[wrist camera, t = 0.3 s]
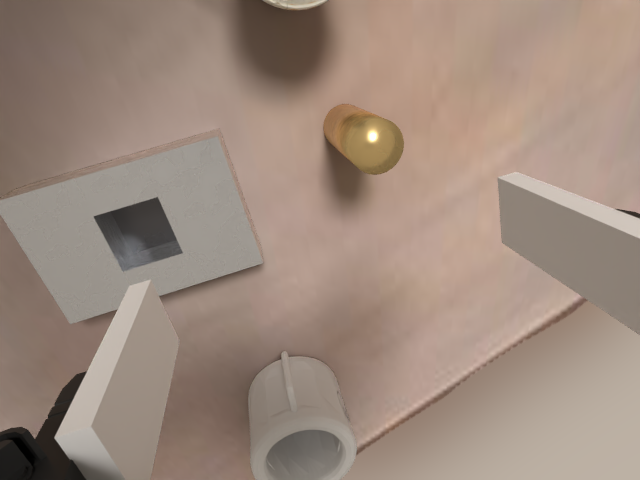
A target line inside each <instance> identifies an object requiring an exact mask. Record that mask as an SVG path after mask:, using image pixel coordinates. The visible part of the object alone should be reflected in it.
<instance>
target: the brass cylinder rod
mask: <svg viewBox="0 0 640 480" xmlns="http://www.w3.org/2000/svg"><path fill="white" fill-rule="evenodd" d="M324 134H325V136H326V138H327V140H328V141H329V142H330V143H331V144H332V145H333V146H334V147H335V148H336V149H338V150H339V151H340V152H341V153H342V154H343V155H344V156H345V157H346V158H347V159H349V160H350V161H351V162H352V163H353V164H354V165H355V166H356V167H357V168H359V169H360V170H361V171H363V172H365V173H368V174H374V175H376V174H382V173H385V172H387V171H389V170H390V169H392V168H393V167H394V166H395V165H396V164H397V162H398V161H399V159H400V158H401V155H402V152H403V147H404V141H403V136H402V133H401V131H400V129H399V128H398V127H397V126H396V125H395V124H394V123H393V122H391V121H389V120H387V119H384V118H382V117H379V116H377V115H375V114H372V113H370V112H367V111H365V110H363V109H360V108H358V107H355V106H353V105H349V104H341V105H338V106H336V107H334V108H333V109H332V110H330V112H329V113H328V114H327V116H326V118H325V121H324Z"/></svg>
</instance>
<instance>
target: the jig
mask: <svg viewBox="0 0 640 480" xmlns="http://www.w3.org/2000/svg"><path fill="white" fill-rule="evenodd" d="M0 215H1V216H2V218H3V219H4V221H5V223H6V224H7V226H8V227H9V229H10V230H11V232H12V233H13V235H14V237H15V238H16V240H17V241H18V243H19V244H20V246H21V248H22V249H23V251H24V252H25V254H26V255H27V257H28V259H29V260H30V262H31V263H32V265H33V266H34V268H35V270H36V271H37V273H38V274H39V276H40V277H41V279H42V281H43V282H44V284H45V285H46V287H47V288H48V290H49V292H50V293H51V295H52V296H53V298H54V299H55V301H56V303H57V304H58V306H59V307H60V309H61V310H62V312H63V314H64V315H65V317H66V318H67V320H68V321H69V323H70V324H72V323H76V322H79V321H82V320H85V319H88V318H91V317H95V316H98V315H101V314H104V313H107V312H110V311H114V310H117V309H118V308H119V306H120V304H121V302H122V300H123V298H124V296H125V294H126V292H127V290H128V288H129V286H131V285H134V284H137V283H141V282H144V281H148V280H151V281H152V283H153V285H154V287H155V289H156V291H157V293H158V296H161V295H164V294H167V293H170V292H174V291H177V290H180V289H183V288H186V287H189V286H193V285H196V284H199V283H202V282H205V281H208V280H212V279H215V278H218V277H221V276H224V275H227V274H230V273H234V272H237V271H240V270H243V269H246V268H249V267H253V266H256V265H259V264H262V263H263V257H262V250H261V244H260V242H259V239H258V236H257V233H256V230H255V228H254V225H253V222H252V219H251V216H250V213H249V211H248V208H247V205H246V202H245V199H244V197H243V194H242V191H241V188H240V185H239V182H238V180H237V177H236V174H235V171H234V168H233V166H232V163H231V160H230V157H229V154H228V152H227V149H226V146H225V143H224V140H223V137H222V135H221V132H220V129H216V130H212V131H209V132H206V133H202V134H199V135H195V136H192V137H189V138H185V139H182V140H178V141H175V142H172V143H168V144H165V145H161V146H158V147H155V148H151V149H148V150H144V151H141V152H138V153H134V154H131V155H127V156H124V157H121V158H117V159H114V160H110V161H107V162H104V163H100V164H97V165H93V166H90V167H87V168H83V169H80V170H76V171H73V172H70V173H66V174H63V175H59V176H56V177H53V178H49V179H46V180H42V181H39V182H36V183H32V184H29V185H25V186H22V187H19V188H16V189H14V190H13V191H11V192H9V193H8V194H6V195H4V196H3V197H1V198H0Z"/></svg>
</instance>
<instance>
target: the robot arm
mask: <svg viewBox="0 0 640 480" xmlns="http://www.w3.org/2000/svg"><path fill="white" fill-rule="evenodd" d="M498 190H499V206H500V222H501V237H502V243H503V244H505V245H506V246H508V247H509V248H511V249H512V250H514V251H515V252H517V253H518V254H520V255H521V256H523V257H524V258H526V259H527V260H529V261H530V262H532V263H533V264H535V265H536V266H538V267H539V268H541V269H542V270H543V271H545V272H546V273H548V274H549V275H551V276H552V277H554V278H555V279H557V280H558V281H560V282H561V283H563V284H564V285H566V286H567V287H569V288H570V289H572V290H573V291H575V292H576V293H578V294H579V295H581V296H582V297H584V298H585V299H587V300H588V301H590V302H591V303H593V304H594V305H596V306H597V307H599V308H600V309H602V310H603V311H605V312H606V313H608V314H609V315H611V316H612V317H614V318H615V319H617V320H618V321H620V322H621V323H623V324H624V325H625V326H627V327H628V328H630V329H631V330H633V331H634V332H636V333H637V334H639V335H640V214H638V213H636V212H631V211H625V210H619V209H613V208H610V207H608V206H605V205H603V204H600V203H597V202H595V201H592V200H589V199H587V198H584V197H581V196H579V195H576V194H574V193H571V192H568V191H566V190H563V189H560V188H558V187H555V186H553V185H550V184H547V183H545V182H542V181H539V180H537V179H534V178H532V177H529V176H526V175H524V174H521V173H518V172H514V173H511V174H508V175H504V176H501V177H498ZM179 343H180V340H179V338H178V336H177V334H176V332H175V330H174V328H173V325H172V323H171V321H170V319H169V317H168V315H167V313H166V310H165V308H164V306H163V304H162V302H161V300H160V298H159V296H158V293H157V291H156V289H155V287H154V285H153V283H152V281H151V280H148V281H144V282H141V283H137V284H134V285H131V286H129V288H128V290H127V292H126V294H125V296H124V298H123V300H122V302H121V304H120V306H119V308H118V310H117V312H116V314H115V316H114V318H113V320H112V322H111V324H110V326H109V328H108V330H107V332H106V334H105V336H104V338H103V340H102V342H101V344H100V346H99V348H98V350H97V352H96V354H95V356H94V358H93V360H92V363H91V365H90V367H89V369H88V371H86V372H83V373H80V374H76V376H75V377H74V378H73V379H72V380H71V381H70V382H69V383H68V384H67V385H66V386H65V387H64V388H63V389H62V391H61V393H60V395H59V396H58V398H57V400H56V402H55V406H54V407H52V409H51V411H50V413H49V415H48V419H46V420H45V422H44V424H43V426H42V428H41V430H40V431H39V433H38V435H37V437H36V439H34V438H33V436H32V435H31V434H30V432H29V431H28V430H27V429H25V428H23V427H17V428H10V429H8V430H5V431H2V432H0V480H150V479H151V475H152V470H153V465H154V460H155V456H156V451H157V446H158V442H159V437H160V432H161V427H162V423H163V418H164V413H165V409H166V404H167V399H168V395H169V390H170V385H171V380H172V376H173V371H174V366H175V362H176V357H177V352H178V347H179Z"/></svg>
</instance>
